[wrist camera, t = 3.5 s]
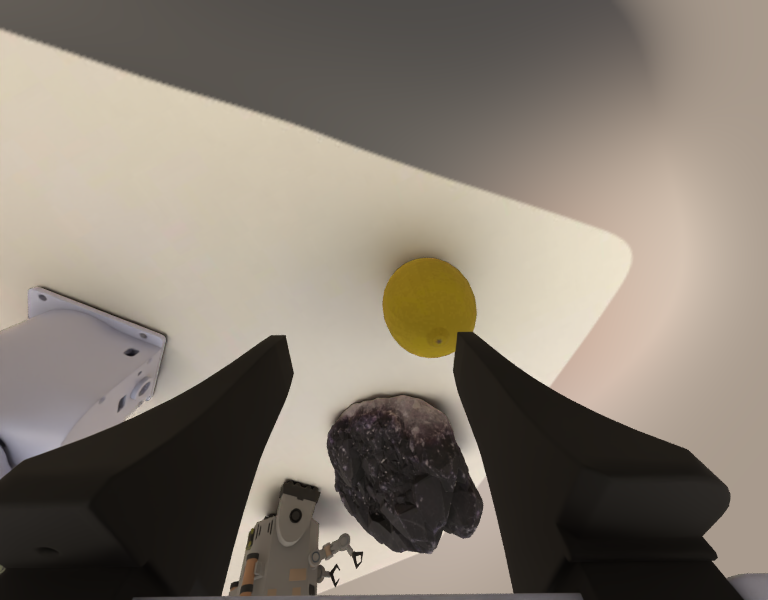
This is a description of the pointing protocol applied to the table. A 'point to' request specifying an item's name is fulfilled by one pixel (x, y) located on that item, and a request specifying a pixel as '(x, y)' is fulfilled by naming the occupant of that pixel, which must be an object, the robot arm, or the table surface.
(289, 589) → the figurine
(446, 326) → the lemon
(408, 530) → the crystal cluster
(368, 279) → the table surface
